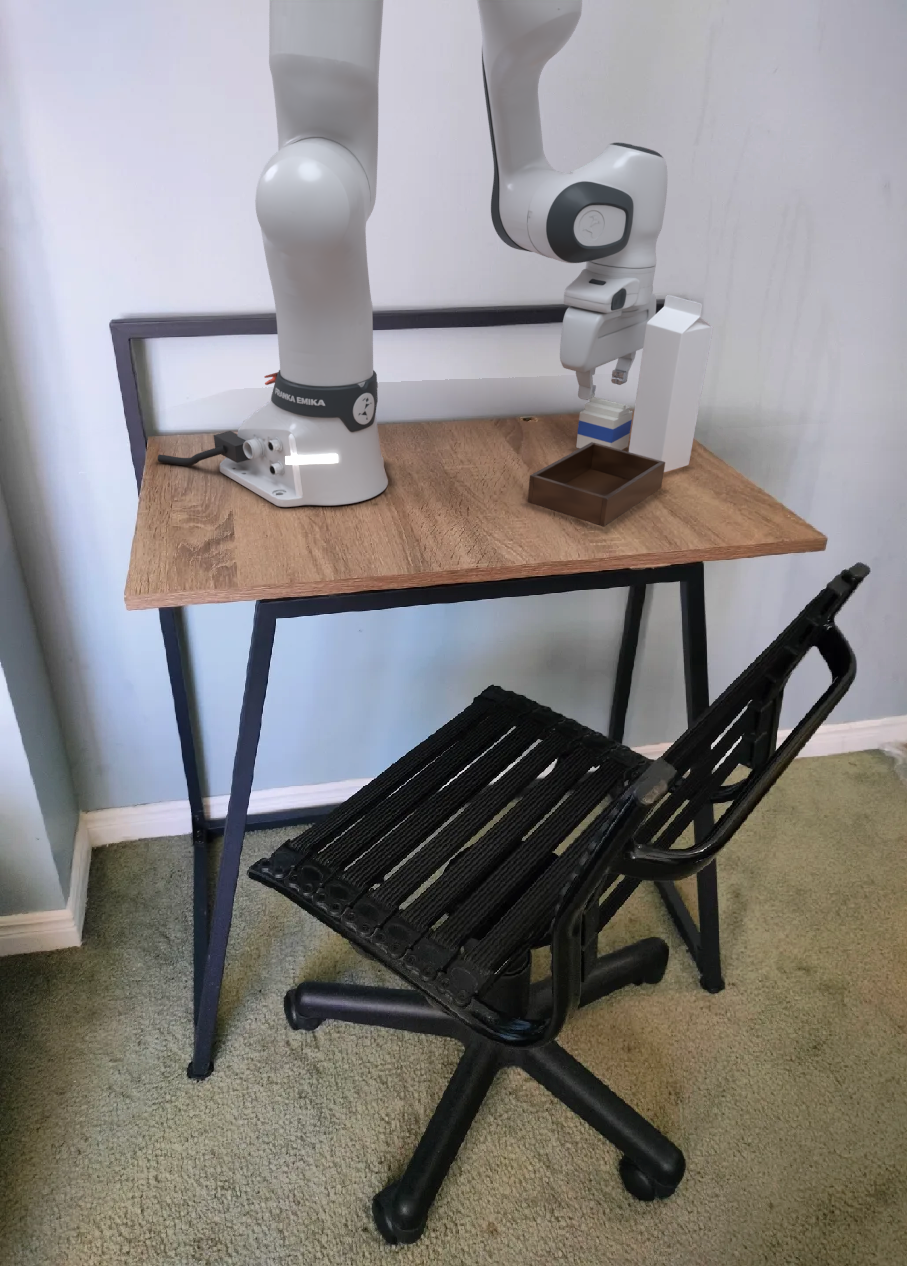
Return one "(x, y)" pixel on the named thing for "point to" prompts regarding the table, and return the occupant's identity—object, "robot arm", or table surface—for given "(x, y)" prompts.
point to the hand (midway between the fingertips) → (602, 390)
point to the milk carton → (604, 424)
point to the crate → (596, 483)
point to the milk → (671, 383)
